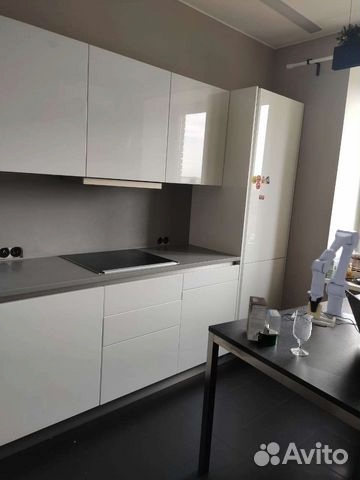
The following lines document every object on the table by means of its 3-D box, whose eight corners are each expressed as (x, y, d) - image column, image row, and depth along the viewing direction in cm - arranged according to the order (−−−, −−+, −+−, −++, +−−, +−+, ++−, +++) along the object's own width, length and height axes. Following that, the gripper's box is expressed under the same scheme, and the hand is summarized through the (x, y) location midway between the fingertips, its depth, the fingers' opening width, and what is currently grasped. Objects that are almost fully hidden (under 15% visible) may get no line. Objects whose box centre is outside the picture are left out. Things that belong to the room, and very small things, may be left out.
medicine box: (279, 335, 155) (281, 316, 153) (269, 334, 155) (271, 315, 153) (274, 327, 162) (277, 309, 161) (265, 327, 163) (267, 309, 161)
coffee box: (245, 330, 157) (249, 295, 154) (260, 332, 157) (264, 297, 154) (247, 339, 148) (251, 302, 145) (262, 341, 148) (267, 304, 145)
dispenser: (312, 317, 179) (313, 311, 178) (335, 322, 174) (336, 317, 173) (309, 321, 173) (310, 315, 173) (333, 327, 168) (334, 321, 167)
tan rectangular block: (307, 312, 178) (309, 301, 177) (320, 315, 175) (322, 304, 174) (306, 314, 175) (308, 302, 174) (319, 317, 172) (321, 305, 171)
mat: (294, 312, 184) (294, 311, 184) (312, 316, 180) (313, 316, 180) (290, 317, 176) (290, 317, 176) (309, 322, 172) (309, 321, 172)
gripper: (311, 279, 181) (308, 305, 183) (306, 286, 168) (302, 313, 171) (326, 282, 177) (322, 308, 180) (322, 289, 165) (318, 317, 167)
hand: (313, 311), depth 175 cm, fingers closed on tan rectangular block, 3 cm apart
